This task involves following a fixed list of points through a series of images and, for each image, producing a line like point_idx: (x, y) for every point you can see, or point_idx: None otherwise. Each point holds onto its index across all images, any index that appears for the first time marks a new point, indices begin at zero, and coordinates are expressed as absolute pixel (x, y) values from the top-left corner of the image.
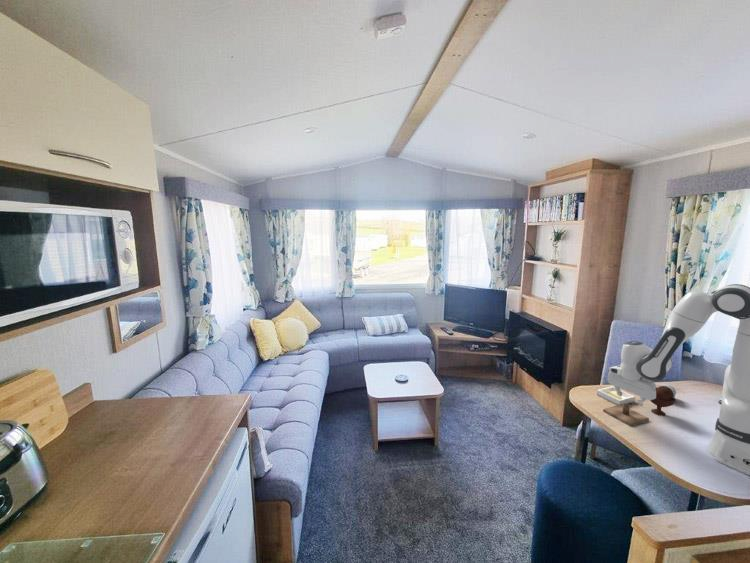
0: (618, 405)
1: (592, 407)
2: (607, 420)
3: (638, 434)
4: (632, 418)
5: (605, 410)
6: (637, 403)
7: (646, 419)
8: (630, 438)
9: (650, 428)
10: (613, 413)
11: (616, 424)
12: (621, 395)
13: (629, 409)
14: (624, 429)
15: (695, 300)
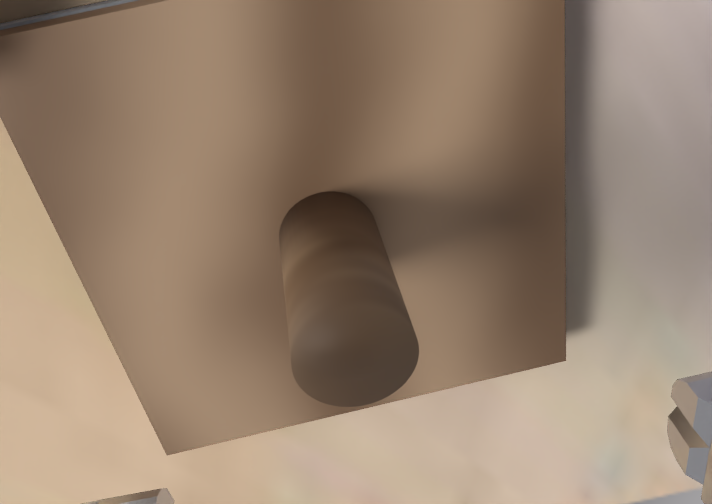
0: (27, 141)
1: (61, 489)
2: (378, 489)
3: (692, 364)
4: (474, 239)
5: (202, 445)
6: (674, 449)
7: (562, 3)
8: None
9: (693, 115)
10: (297, 401)
11: (470, 451)
12: (169, 496)
13: (392, 272)
14: (570, 434)
15: None
